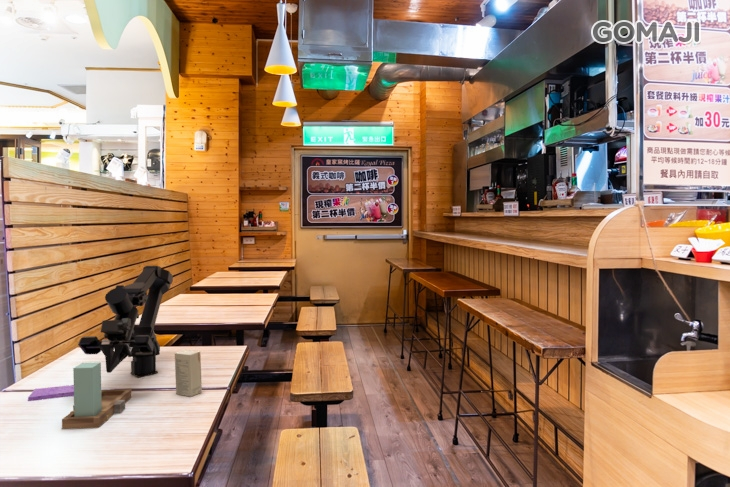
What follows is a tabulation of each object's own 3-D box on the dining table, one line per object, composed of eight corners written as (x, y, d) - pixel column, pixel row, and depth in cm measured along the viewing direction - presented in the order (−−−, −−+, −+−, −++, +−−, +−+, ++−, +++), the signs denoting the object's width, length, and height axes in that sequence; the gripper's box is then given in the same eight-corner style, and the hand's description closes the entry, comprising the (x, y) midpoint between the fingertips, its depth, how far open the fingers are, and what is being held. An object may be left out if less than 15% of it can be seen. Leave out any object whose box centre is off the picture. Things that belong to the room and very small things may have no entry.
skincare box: (202, 392, 136) (201, 351, 136) (191, 397, 132) (190, 355, 132) (186, 389, 139) (185, 348, 139) (174, 393, 135) (174, 352, 135)
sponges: (79, 397, 134) (78, 390, 134) (26, 403, 129) (26, 396, 129) (84, 389, 140) (83, 383, 140) (34, 394, 136) (34, 388, 136)
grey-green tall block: (83, 413, 118) (82, 362, 117) (101, 412, 118) (100, 362, 118) (74, 420, 113) (73, 368, 113) (93, 419, 114) (92, 367, 113)
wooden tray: (94, 398, 131) (94, 389, 131) (137, 397, 132) (137, 388, 132) (55, 429, 111) (54, 418, 111) (105, 427, 113) (105, 416, 112)
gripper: (80, 308, 131) (60, 358, 120) (149, 307, 133) (135, 356, 122) (94, 329, 139) (76, 378, 128) (159, 328, 141) (146, 376, 130)
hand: (108, 372), depth 127 cm, fingers closed
